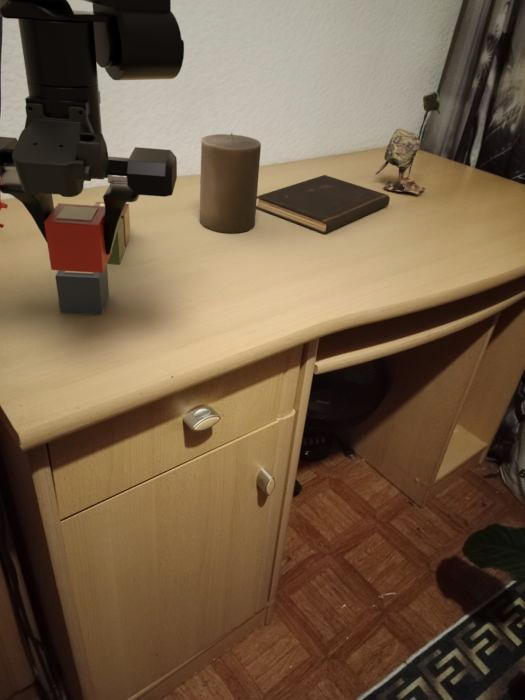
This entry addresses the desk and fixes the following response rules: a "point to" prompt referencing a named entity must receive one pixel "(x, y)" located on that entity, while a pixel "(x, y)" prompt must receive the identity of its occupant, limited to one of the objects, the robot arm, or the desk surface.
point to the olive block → (118, 245)
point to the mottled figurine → (407, 150)
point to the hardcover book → (322, 203)
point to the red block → (77, 238)
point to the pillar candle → (229, 182)
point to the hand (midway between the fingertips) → (81, 251)
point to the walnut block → (125, 220)
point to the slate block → (82, 291)
